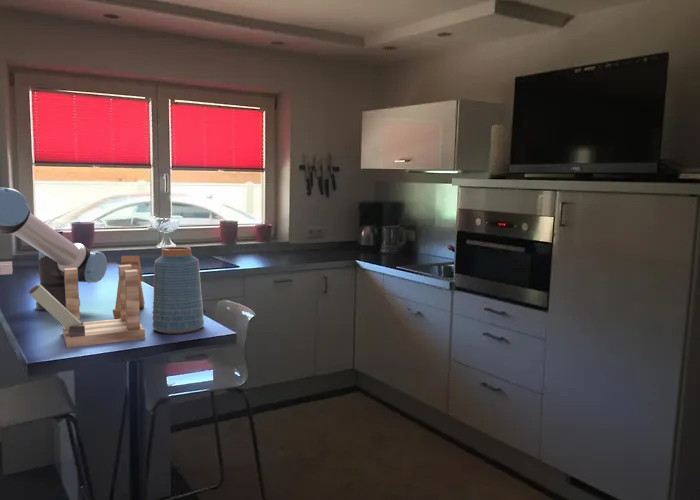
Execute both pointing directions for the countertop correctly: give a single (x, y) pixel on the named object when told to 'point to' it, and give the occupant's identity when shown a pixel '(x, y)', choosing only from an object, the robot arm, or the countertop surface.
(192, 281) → the vase
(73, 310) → the wooden rack
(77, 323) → the stool leg
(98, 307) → the countertop surface
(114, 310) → the tan wooden piece
